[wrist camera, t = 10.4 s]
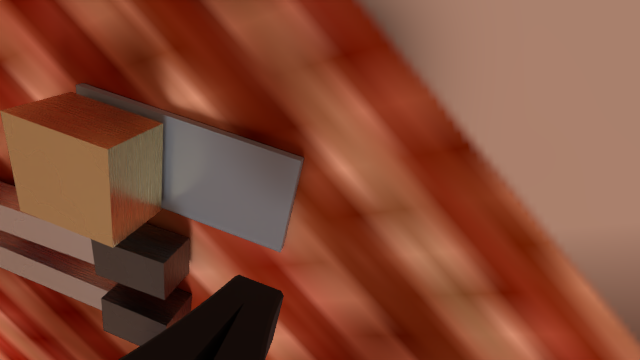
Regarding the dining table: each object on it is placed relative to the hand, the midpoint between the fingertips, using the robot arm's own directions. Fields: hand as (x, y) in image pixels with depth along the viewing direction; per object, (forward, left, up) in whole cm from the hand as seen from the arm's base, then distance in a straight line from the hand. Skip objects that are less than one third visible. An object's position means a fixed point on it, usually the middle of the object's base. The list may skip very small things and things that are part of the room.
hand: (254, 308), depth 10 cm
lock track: (+1, +4, -4) cm, 6 cm away
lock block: (+1, +7, -4) cm, 8 cm away
